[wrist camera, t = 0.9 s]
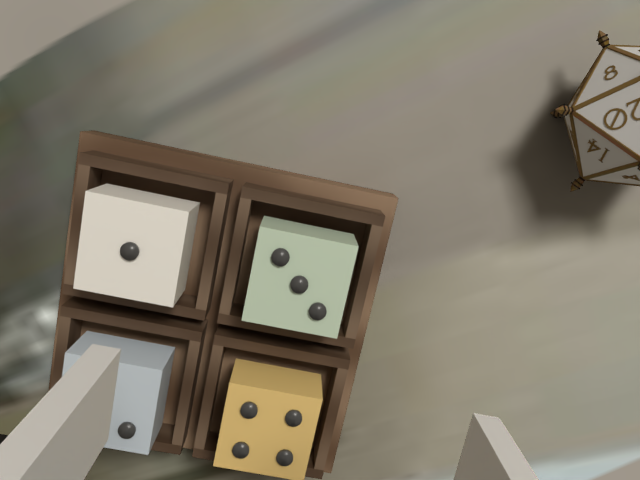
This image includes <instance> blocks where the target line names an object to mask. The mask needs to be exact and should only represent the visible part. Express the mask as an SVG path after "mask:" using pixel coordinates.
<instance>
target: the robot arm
mask: <svg viewBox="0 0 640 480" xmlns="http://www.w3.org/2000/svg"><path fill="white" fill-rule="evenodd" d="M120 353H121V349H118V348H113V347H107V346H102V345H96V344H92V345H91V346H90V347H89V348H88V349H87V350H86V351H85V352H84V354H83V355H82V356H81V357H80V358H79V359H78V360H77V361H76V362H75V363H74V364H73V366H72V367H71V368H70V369H69V370H68V371H67V372H66V373H65V374H64V375H63V376H62V378H61V379H60V380H59V381H58V382H57V383H56V384H55V385H54V386H53V387H52V388H51V390H50V391H49V392H48V393H47V394H46V395H45V396H44V397H43V398H42V399H41V400H40V402H39V403H38V404H37V405H36V406H35V407H34V408H33V409H32V410H31V411H30V412H29V413H28V415H27V416H26V417H25V418H24V419H23V420H22V421H21V422H20V423H19V424H18V425H17V427H16V428H15V429H14V430H13V431H12V432H11V433H10V434H9V435H3V434H0V480H84V478H85V477H86V475H87V473H88V472H89V470H90V468H91V467H92V465H93V464H94V462H95V460H96V459H97V457H98V455H99V454H100V452H101V450H102V449H103V447H104V445H105V444H106V442H107V440H108V436H109V430H110V423H111V416H112V409H113V402H114V395H115V388H116V381H117V374H118V367H119V360H120ZM454 480H539V479H538V478H537V476H536V475H535V473H534V471H533V470H532V468H531V467H530V465H529V464H528V462H527V460H526V459H525V457H524V456H523V454H522V453H521V451H520V449H519V448H518V446H517V445H516V443H515V442H514V440H513V438H512V437H511V435H510V434H509V432H508V431H507V429H506V427H505V426H504V424H503V423H502V421H501V420H500V418H498V417H493V416H487V415H482V414H476V413H473V416H472V419H471V423H470V426H469V429H468V433H467V436H466V439H465V443H464V446H463V450H462V453H461V456H460V460H459V463H458V466H457V470H456V473H455V477H454Z"/></svg>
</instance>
